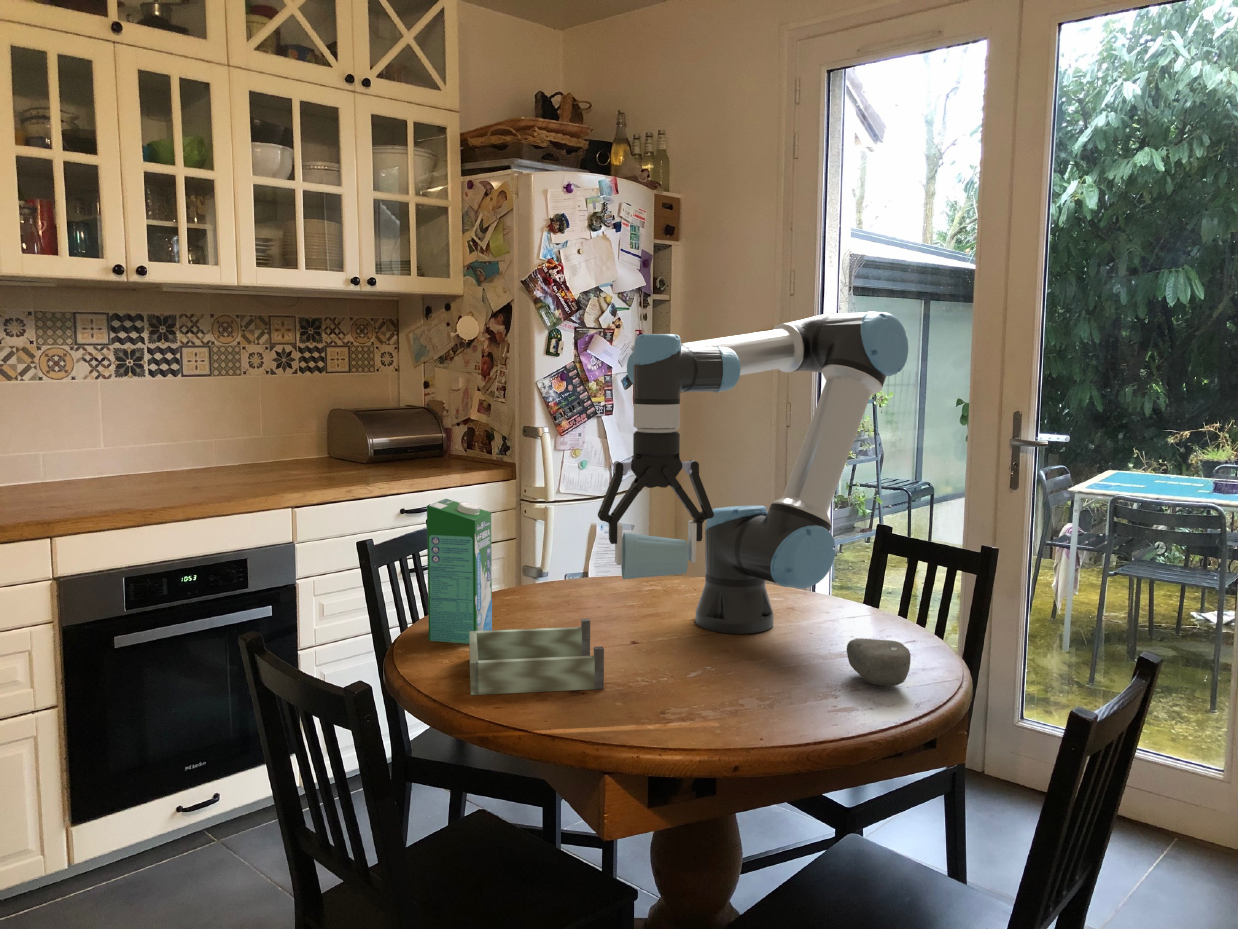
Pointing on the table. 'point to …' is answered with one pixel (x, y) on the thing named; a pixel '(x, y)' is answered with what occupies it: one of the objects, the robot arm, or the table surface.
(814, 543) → the robot arm
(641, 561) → the cup
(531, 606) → the table surface
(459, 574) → the milk carton
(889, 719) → the table surface
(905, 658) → the stone
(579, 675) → the bay
